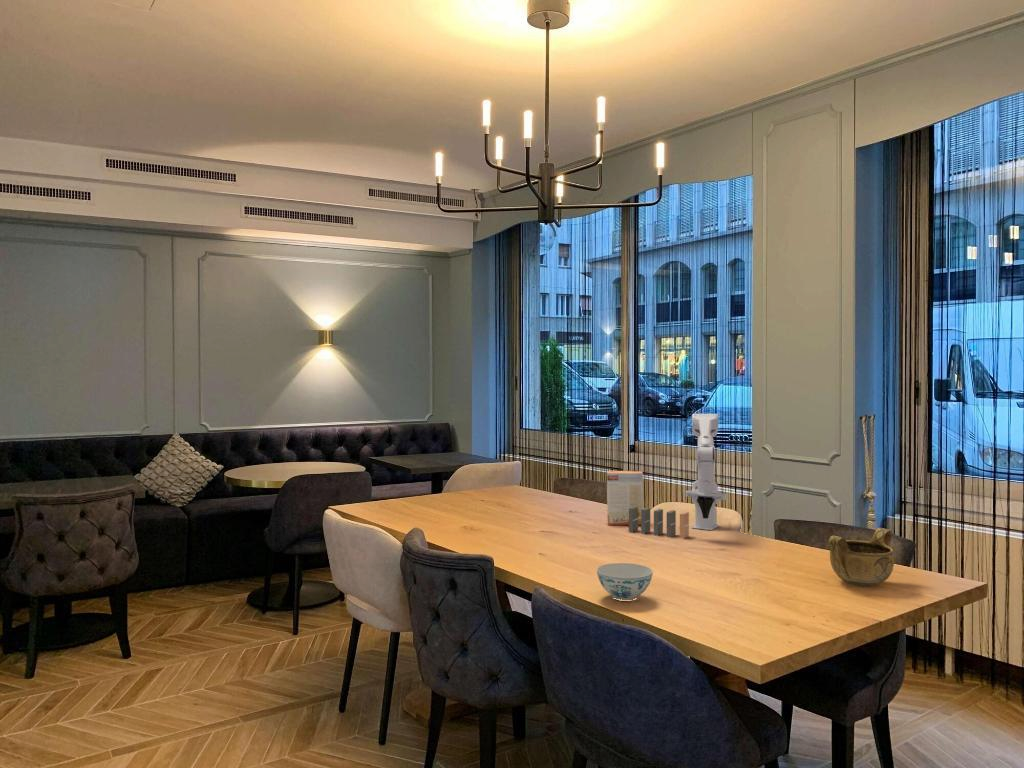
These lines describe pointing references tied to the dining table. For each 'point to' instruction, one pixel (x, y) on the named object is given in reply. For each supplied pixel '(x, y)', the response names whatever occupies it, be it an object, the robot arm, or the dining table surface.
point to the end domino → (633, 519)
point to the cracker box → (623, 495)
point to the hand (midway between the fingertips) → (705, 518)
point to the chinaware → (624, 579)
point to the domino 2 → (658, 521)
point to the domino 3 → (671, 523)
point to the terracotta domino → (684, 525)
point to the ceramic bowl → (863, 559)
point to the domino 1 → (645, 520)
